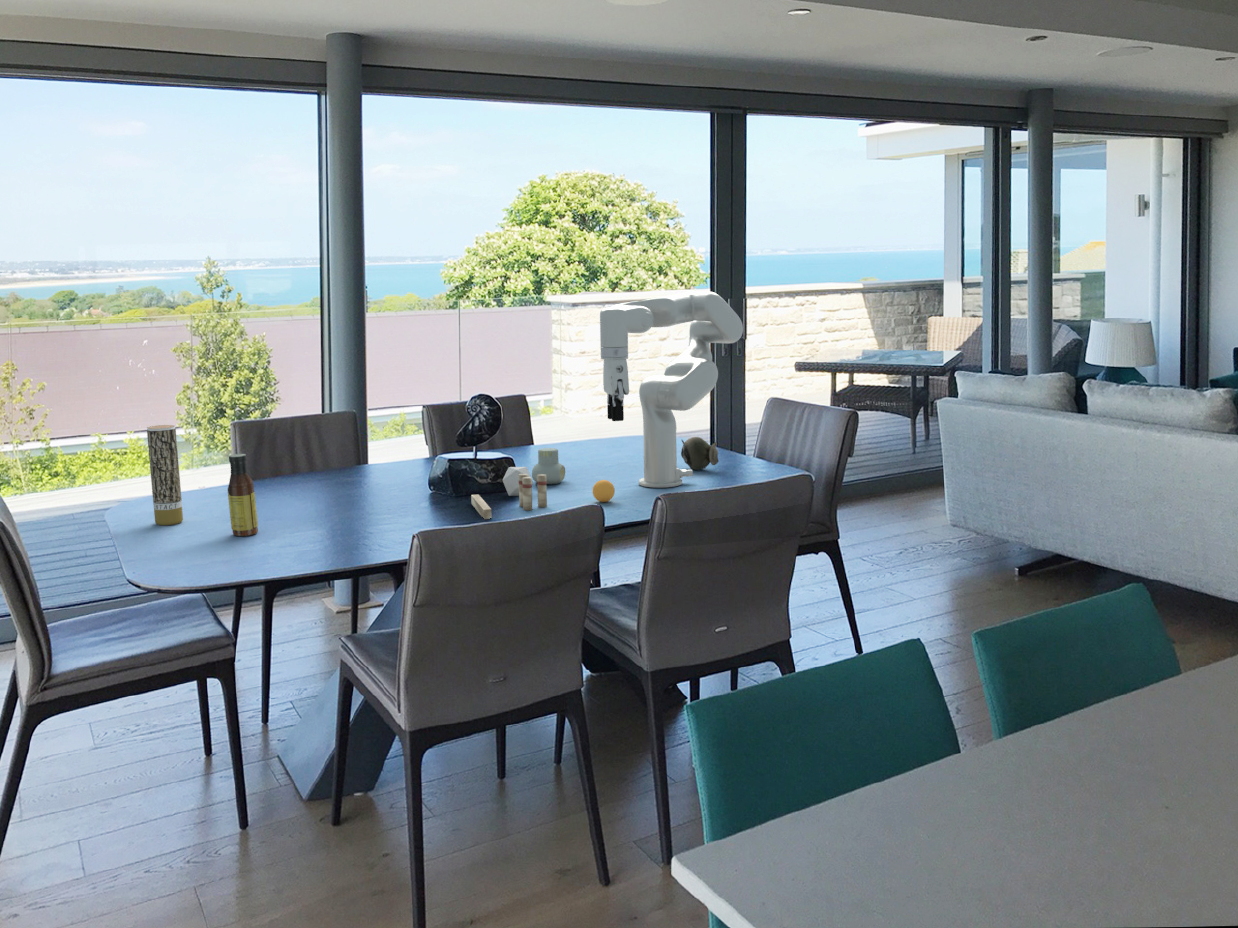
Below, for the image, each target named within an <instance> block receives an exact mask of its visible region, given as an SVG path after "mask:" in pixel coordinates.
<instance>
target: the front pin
mask: <svg viewBox="0 0 1238 928" xmlns="http://www.w3.org/2000/svg"><path fill="white" fill-rule="evenodd" d="M536 484H537V485H536V486H537V490H536V491H537V508H547V507H548V497H547V496H548V495H547V494H548V493H547V485H548V484H547V483H546V475H544V474H540V475H537V482H536Z"/></svg>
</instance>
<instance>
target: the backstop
mask: <svg viewBox="0 0 1238 928" xmlns="http://www.w3.org/2000/svg"><path fill="white" fill-rule="evenodd" d="M470 497H471V501H470V502H471V506H473V508H475V510H476V512H477V513H478V514H479V516H480V517H481V518H482V517H483V518H484V519H483V518H482V519H483V520H491V519H490V518H492V516H493V515H492V508H491V507H490V506H489V504H488V503H487V502H486V501H485V500H484V499H483V497H481V495H480V494H471V496H470Z"/></svg>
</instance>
